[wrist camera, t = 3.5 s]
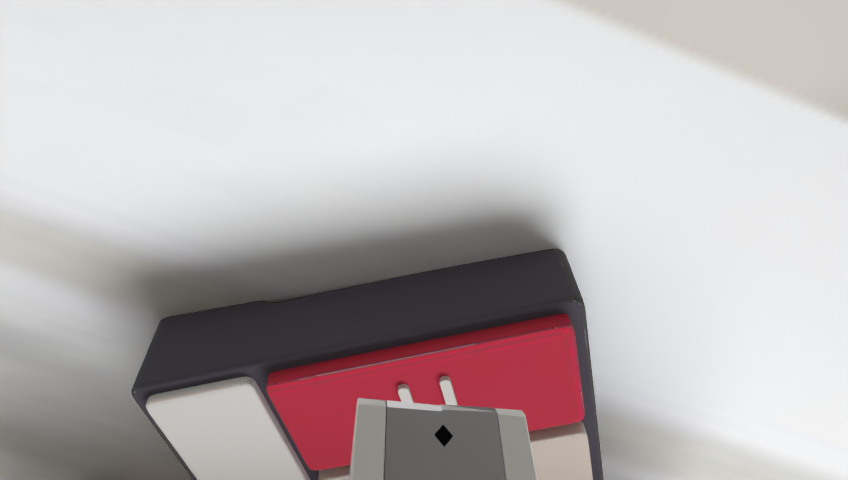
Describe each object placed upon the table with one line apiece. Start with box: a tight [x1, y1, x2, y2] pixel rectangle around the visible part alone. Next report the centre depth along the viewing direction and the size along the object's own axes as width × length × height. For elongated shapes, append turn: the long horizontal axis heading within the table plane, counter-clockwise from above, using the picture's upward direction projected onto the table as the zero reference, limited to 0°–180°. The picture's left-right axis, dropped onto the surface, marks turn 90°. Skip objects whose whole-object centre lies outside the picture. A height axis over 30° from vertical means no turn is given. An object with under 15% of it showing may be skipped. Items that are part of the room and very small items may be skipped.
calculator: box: [132, 249, 603, 480], centre depth 24 cm, size 11×4×15 cm
